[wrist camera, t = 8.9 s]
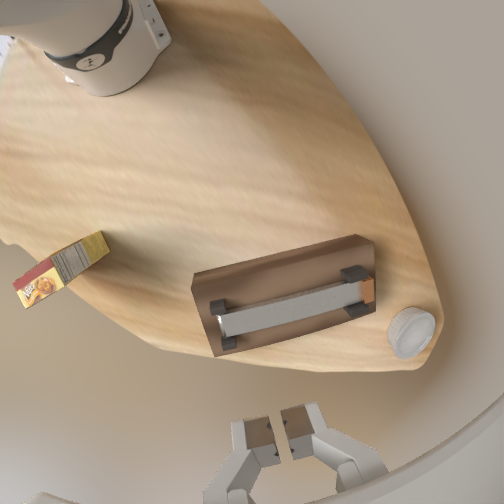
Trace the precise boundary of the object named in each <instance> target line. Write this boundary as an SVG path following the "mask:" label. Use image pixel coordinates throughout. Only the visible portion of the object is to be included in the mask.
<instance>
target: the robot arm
mask: <svg viewBox="0 0 504 504" xmlns="http://www.w3.org/2000/svg"><path fill="white" fill-rule="evenodd" d="M0 35H3V36H13V37H17V38H20V39H22V40H24V41H27V42H29V43H31V44H33V45H35V46H37V47H38V48H40V49H42V50H44V53H45V54H46V56H47V57H49V59H50V60H52V62H54V65H55V66H56V67H57V68H58V69H59V70H61V71H62V72H63V73H64V74H65V80H66V81H67V82H68V83H69V84H73V85H79V86H81V87H82V88H83V89H84V90H85V91H87V92H88V93H90V94H92V95H96V96H109V95H114V94H117V93H120V92H122V91H124V90H126V89H128V88H130V87H131V86H133V85H134V84H136V83H137V82H138V81H139V80H140V79H142V78H143V77H144V76H145V74H146V73H147V72H148V71H149V69H150V68H151V66H152V65H153V63H154V61H155V59H156V57H157V56H158V55H159V53H161V52H162V51H163V50H164V49H165V48H166V47H168V46H169V44H170V43H171V41H172V39H171V36H170V34H169V32H168V30H167V28H166V26H165V24H164V22H163V20H162V18H161V15H160V13H159V11H158V9H157V7H156V5H155V3H154V1H153V0H0ZM160 35H163V36H161V37H159V36H160ZM280 412H281V416H282V420H283V424H284V428H285V432H286V435H287V439H288V442H289V446H290V450H291V453H292V456H293V459H294V460H296V459H301V458H304V457H308V456H312V455H314V456H315V457H316V458H318V459H319V460H320V461H322V462H324V463H325V464H326V465H328V466H329V467H331V468H332V469H333V470H335V471H336V472H337V479H336V491H337V493H338V494H335V495H332V496H329V497H326V498H323V499H320V500H316V501H312V502H309V503H306V504H504V393H503V394H502V395H501V396H500V397H499V398H498V399H497V400H496V401H495V402H494V403H492V404H491V405H490V406H489V407H488V408H487V409H486V410H484V411H483V412H482V413H481V414H480V415H479V416H477V417H476V418H475V419H474V420H472V421H471V422H470V423H468V424H467V425H466V426H465V427H463V428H462V429H461V430H459V431H458V432H456V433H455V434H454V435H452V436H451V437H449V438H448V439H446V440H445V441H443V442H442V443H440V444H439V445H437V446H436V447H434V448H433V449H431V450H429V451H428V452H426V453H424V454H423V455H421V456H419V457H418V458H416V459H414V460H413V461H411V462H409V463H407V464H405V465H404V466H401V467H399V468H397V469H395V470H394V471H391V472H388V470H387V468H386V466H385V464H384V463H383V461H382V459H381V457H380V455H379V454H378V452H377V450H376V449H374V448H372V447H370V446H367V445H365V444H363V443H361V442H359V441H357V440H355V439H353V438H351V437H349V436H347V435H345V434H343V433H341V432H340V431H338V430H335V429H334V428H328V426H327V424H326V421H325V419H324V417H323V415H322V412H321V410H320V408H319V406H318V403H317V402H316V401H313V402H309V403H306V404H302V405H298V406H295V407H291V408H288V409H285V410H281V411H280ZM231 430H232V441H233V451H234V452H230V453H229V455H228V457H227V458H226V460H225V461H224V463H223V464H222V466H221V467H220V468H219V470H218V471H217V473H216V474H215V476H214V477H213V479H212V480H211V481H210V483H209V484H208V486H207V487H206V488H205V490H204V491H203V504H256V503H255V502H254V501H253V499H252V498H251V497H250V495H249V493H250V491H251V489H252V487H253V485H254V483H255V481H256V479H257V477H258V475H259V473H260V471H261V468H263V467H268V466H272V465H276V464H280V463H281V461H280V457H279V453H278V449H277V446H276V441H275V437H274V433H273V429H272V426H271V424H270V420H269V416H268V414H266V415H261V416H256V417H251V418H245V419H239V420H234V421H231ZM23 504H79V503H75V502H72V501H69V500H66V499H62V498H59V497H56V496H53V495H51V494H48V493H44V492H40V493H38V494H36V495H34V496H33V497H31V498H30V499H28V500H27V501H25V502H24V503H23Z"/></svg>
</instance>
